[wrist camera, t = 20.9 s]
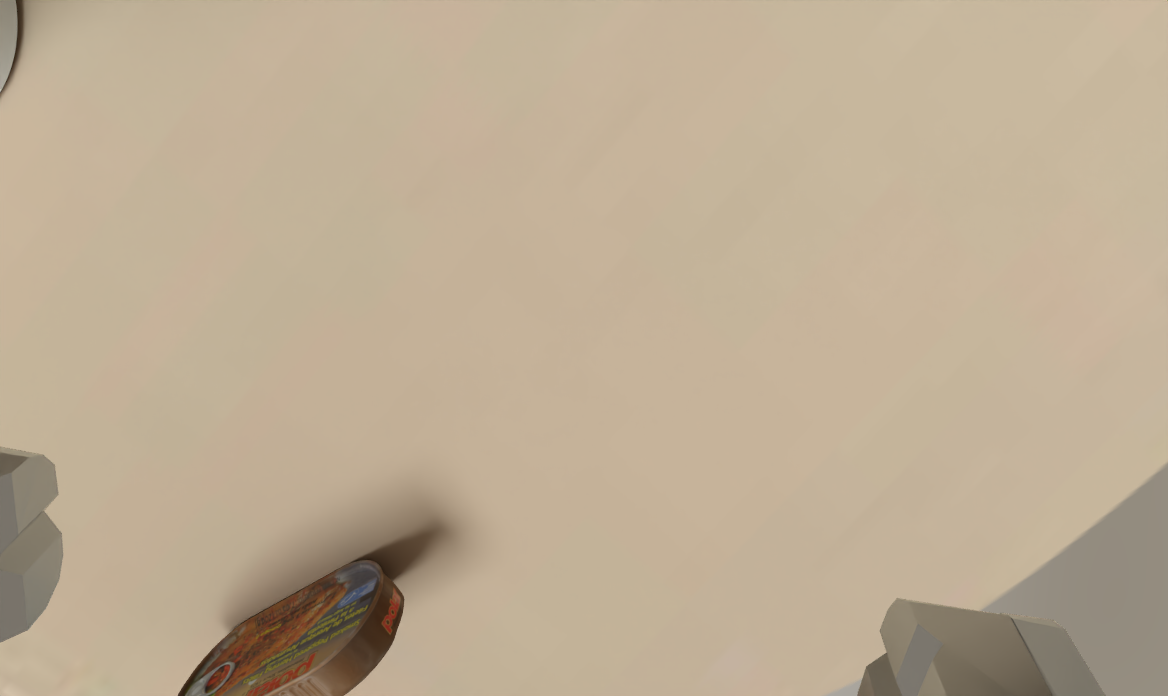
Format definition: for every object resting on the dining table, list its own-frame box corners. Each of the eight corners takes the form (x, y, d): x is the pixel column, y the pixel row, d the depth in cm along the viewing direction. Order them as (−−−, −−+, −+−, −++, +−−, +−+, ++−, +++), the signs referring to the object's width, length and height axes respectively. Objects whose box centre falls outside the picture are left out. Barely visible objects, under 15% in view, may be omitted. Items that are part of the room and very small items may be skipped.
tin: (394, 537, 54) (353, 637, 47) (427, 575, 55) (392, 680, 48) (203, 642, 58) (136, 750, 51) (237, 676, 59) (177, 787, 52)
